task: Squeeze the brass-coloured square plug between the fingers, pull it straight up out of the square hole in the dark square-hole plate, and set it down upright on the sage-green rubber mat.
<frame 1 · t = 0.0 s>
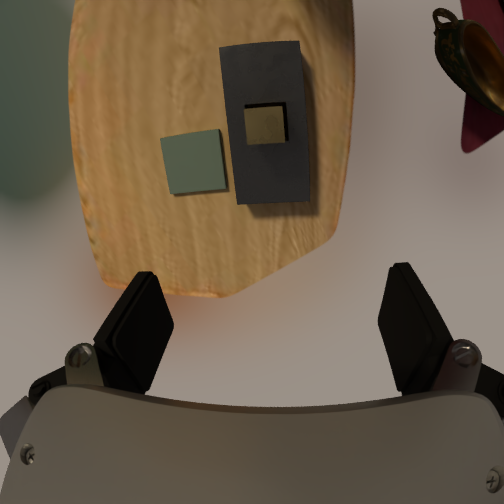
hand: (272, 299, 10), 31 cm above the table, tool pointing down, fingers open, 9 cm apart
brass plug: (266, 122, 31), in the dark square-hole plate
cup: (461, 66, 25), on the table
green mat: (193, 161, 39), on the table
dark square-hole plate: (268, 120, 35), on the table
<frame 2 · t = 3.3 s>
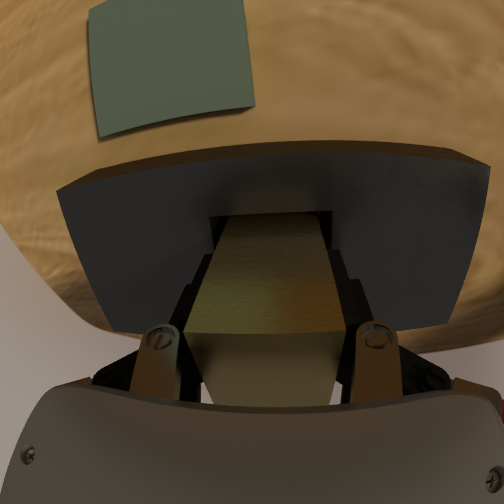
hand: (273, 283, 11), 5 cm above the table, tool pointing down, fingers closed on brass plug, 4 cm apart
brass plug: (273, 278, 12), in the dark square-hole plate, touching gripper
green mat: (163, 45, 11), on the table
dark square-hole plate: (275, 228, 16), on the table
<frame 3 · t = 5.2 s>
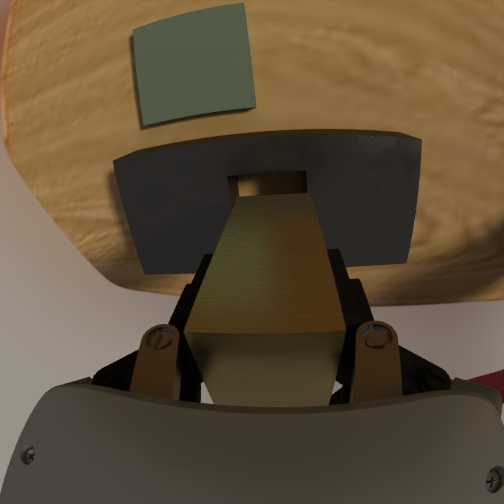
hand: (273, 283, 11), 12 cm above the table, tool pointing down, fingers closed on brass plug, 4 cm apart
brass plug: (273, 278, 12), point 12 cm above the table, touching gripper
green mat: (192, 62, 17), on the table
dark square-hole plate: (270, 191, 22), on the table
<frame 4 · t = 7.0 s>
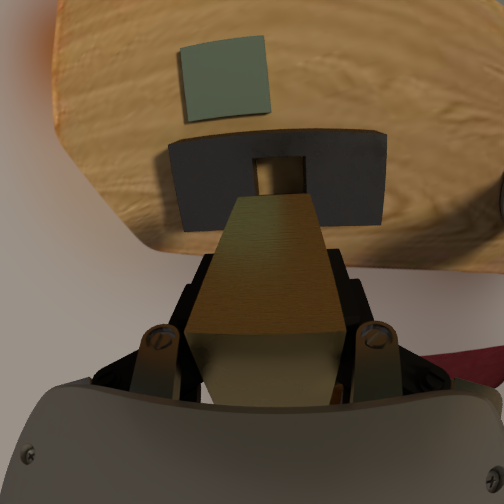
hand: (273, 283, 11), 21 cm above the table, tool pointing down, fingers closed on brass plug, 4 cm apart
brass plug: (273, 278, 12), point 21 cm above the table, touching gripper
green mat: (225, 77, 25), on the table
dark square-hole plate: (280, 172, 30), on the table
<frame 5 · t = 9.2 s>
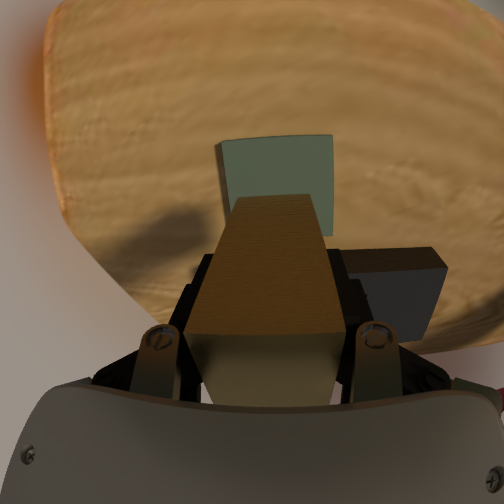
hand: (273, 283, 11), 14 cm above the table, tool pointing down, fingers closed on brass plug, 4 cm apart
brass plug: (273, 279, 12), point 14 cm above the table, touching gripper
green mat: (280, 187, 23), on the table
dark square-hole plate: (332, 290, 28), on the table
when the fingers open (8 cm above the table, at t = 11.0 s): brass plug drops 2 cm, resting on green mat.
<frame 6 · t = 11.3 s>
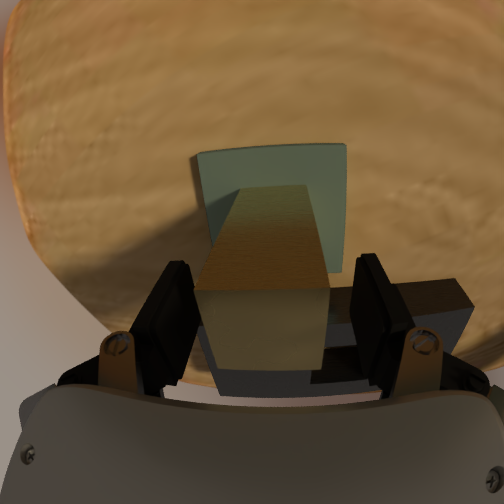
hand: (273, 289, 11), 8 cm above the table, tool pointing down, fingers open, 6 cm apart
brass plug: (272, 257, 13), on the green mat, point 6 cm above the table
green mat: (276, 212, 18), on the table
dark square-hole plate: (337, 330, 23), on the table
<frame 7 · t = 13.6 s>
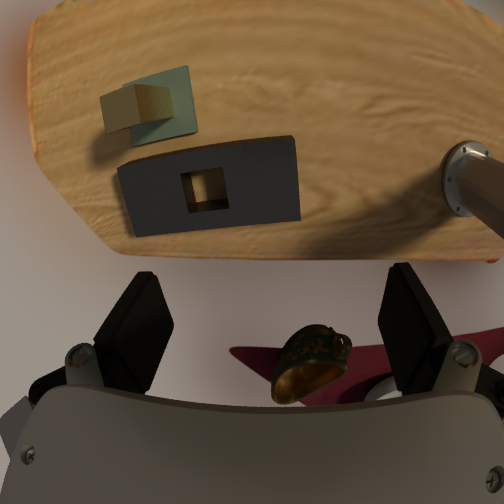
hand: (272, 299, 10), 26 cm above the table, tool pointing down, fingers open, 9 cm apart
brass plug: (141, 106, 25), on the green mat, point 6 cm above the table
cereal bowl: (389, 382, 58), on the table
cup: (306, 344, 50), on the table
green mat: (160, 106, 30), on the table
dark square-hole plate: (211, 181, 35), on the table
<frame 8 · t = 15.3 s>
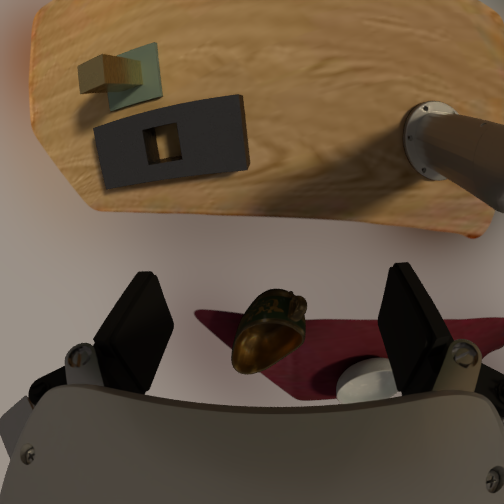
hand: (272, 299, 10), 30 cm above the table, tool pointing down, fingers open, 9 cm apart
brass plug: (112, 75, 26), on the green mat, point 6 cm above the table
cereal bowl: (366, 367, 59), on the table
cup: (270, 312, 52), on the table
green mat: (133, 77, 31), on the table
dark square-hole plate: (172, 140, 36), on the table
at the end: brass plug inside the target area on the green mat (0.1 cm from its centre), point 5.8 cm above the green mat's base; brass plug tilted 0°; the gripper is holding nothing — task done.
